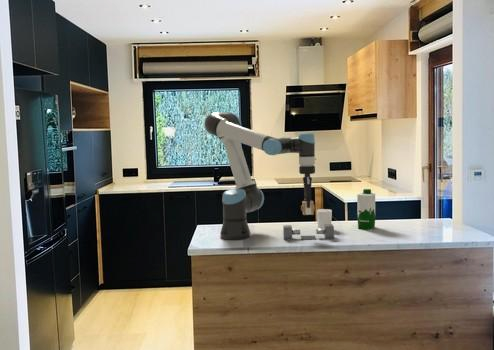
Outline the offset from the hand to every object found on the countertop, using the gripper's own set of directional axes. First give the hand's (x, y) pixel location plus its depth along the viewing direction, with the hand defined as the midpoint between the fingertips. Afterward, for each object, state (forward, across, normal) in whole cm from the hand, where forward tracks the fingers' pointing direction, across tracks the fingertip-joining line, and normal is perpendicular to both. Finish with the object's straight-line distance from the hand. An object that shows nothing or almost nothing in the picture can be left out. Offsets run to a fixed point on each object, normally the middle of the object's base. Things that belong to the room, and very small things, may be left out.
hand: (307, 213), depth 234 cm
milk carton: (+12, +20, -32) cm, 40 cm away
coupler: (0, 0, 0) cm, 0 cm away
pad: (+12, 0, 0) cm, 12 cm away
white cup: (+13, +19, -10) cm, 25 cm away
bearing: (+12, 0, +8) cm, 15 cm away
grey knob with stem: (+12, 0, -8) cm, 15 cm away
